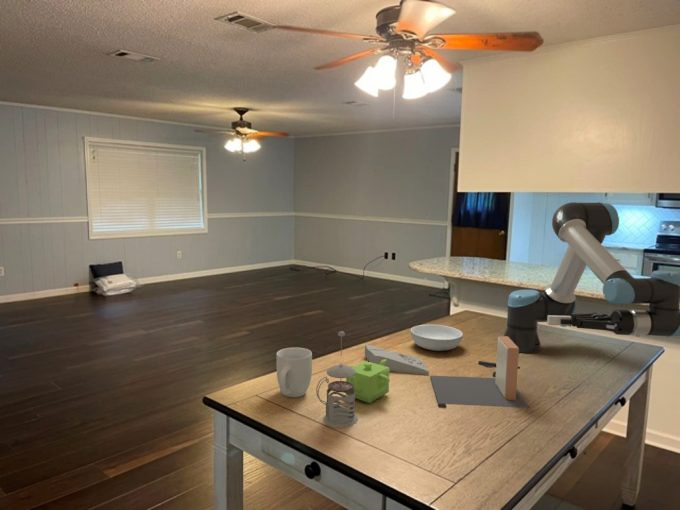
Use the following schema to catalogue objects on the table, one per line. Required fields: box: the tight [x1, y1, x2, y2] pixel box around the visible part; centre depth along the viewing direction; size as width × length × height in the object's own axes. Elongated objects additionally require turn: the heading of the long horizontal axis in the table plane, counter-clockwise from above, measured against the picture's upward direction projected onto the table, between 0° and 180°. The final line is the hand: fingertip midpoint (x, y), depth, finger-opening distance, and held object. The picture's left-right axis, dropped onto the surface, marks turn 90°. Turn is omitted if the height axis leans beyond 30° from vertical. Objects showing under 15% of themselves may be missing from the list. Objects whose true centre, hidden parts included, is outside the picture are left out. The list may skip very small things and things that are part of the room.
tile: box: [495, 335, 520, 400], centre depth 149 cm, size 12×3×16 cm, turn 176°
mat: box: [429, 375, 530, 409], centre depth 151 cm, size 22×26×1 cm
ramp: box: [364, 344, 430, 376], centre depth 174 cm, size 28×16×5 cm, turn 53°
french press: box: [316, 330, 359, 429], centre depth 130 cm, size 10×12×25 cm
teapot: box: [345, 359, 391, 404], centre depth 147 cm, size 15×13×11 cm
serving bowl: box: [410, 324, 464, 352], centre depth 195 cm, size 21×21×7 cm
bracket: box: [477, 360, 521, 378], centre depth 169 cm, size 14×15×3 cm
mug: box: [275, 347, 313, 398], centre depth 146 cm, size 15×11×13 cm
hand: (548, 320), depth 146 cm, fingers closed
